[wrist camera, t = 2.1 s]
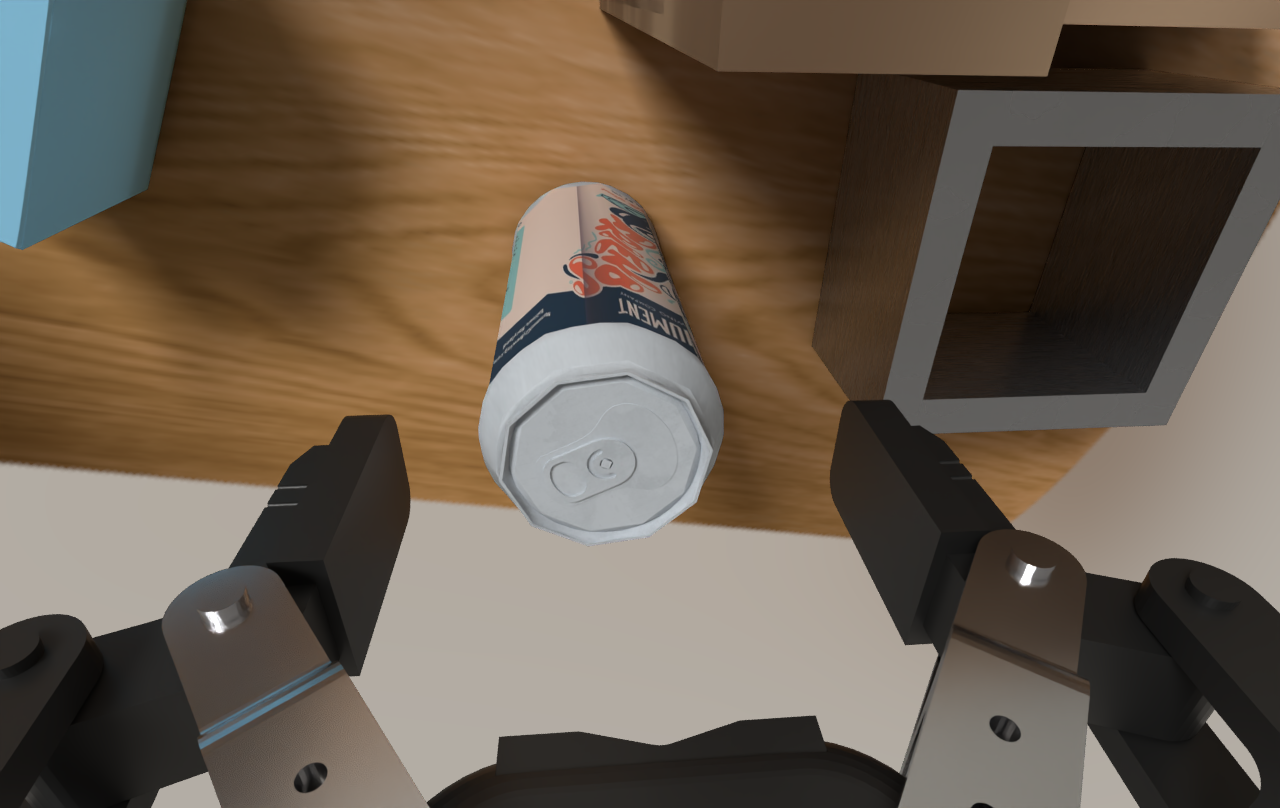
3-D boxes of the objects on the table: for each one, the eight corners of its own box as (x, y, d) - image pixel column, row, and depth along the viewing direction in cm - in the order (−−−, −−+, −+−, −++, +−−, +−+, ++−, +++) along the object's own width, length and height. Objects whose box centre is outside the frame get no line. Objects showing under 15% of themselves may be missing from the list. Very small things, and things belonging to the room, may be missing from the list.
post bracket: (811, 345, 25) (874, 435, 20) (859, 64, 21) (958, 90, 15) (1048, 340, 26) (1166, 424, 21) (1148, 69, 21) (1332, 94, 16)
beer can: (679, 282, 24) (768, 506, 13) (555, 338, 24) (551, 593, 14) (621, 151, 21) (676, 302, 11) (485, 217, 22) (418, 418, 12)
